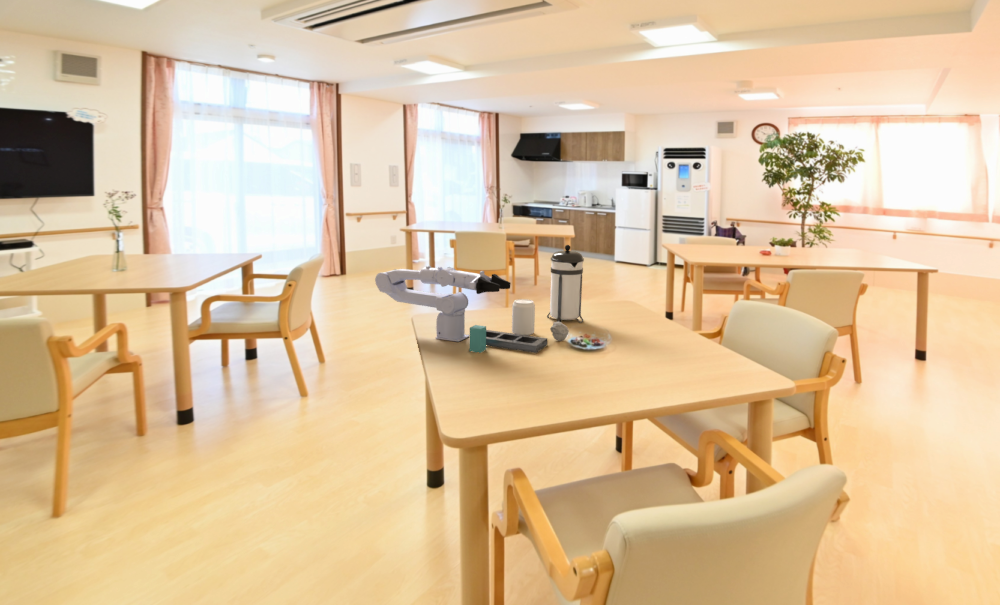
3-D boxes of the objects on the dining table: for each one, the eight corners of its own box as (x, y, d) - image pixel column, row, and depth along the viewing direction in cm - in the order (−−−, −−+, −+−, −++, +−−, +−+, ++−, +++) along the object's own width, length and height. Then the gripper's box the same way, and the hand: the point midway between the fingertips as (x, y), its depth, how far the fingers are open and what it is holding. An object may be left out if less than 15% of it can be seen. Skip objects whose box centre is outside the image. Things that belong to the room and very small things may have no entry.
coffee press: (591, 318, 241) (594, 244, 234) (573, 327, 228) (577, 248, 221) (552, 312, 250) (555, 240, 243) (533, 320, 237) (535, 244, 230)
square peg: (469, 351, 197) (469, 327, 195) (475, 348, 200) (475, 324, 198) (480, 353, 195) (480, 329, 193) (485, 349, 198) (486, 326, 197)
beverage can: (538, 332, 220) (539, 300, 217) (527, 337, 213) (527, 304, 210) (519, 329, 224) (519, 297, 221) (507, 334, 217) (508, 301, 215)
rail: (469, 343, 205) (469, 336, 205) (483, 336, 214) (483, 329, 214) (536, 353, 195) (536, 345, 195) (547, 345, 204) (547, 338, 204)
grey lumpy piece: (545, 340, 209) (546, 321, 208) (558, 337, 214) (559, 318, 212) (559, 344, 205) (560, 325, 203) (572, 340, 210) (573, 321, 208)
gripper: (458, 271, 197) (495, 277, 191) (480, 267, 209) (515, 272, 203) (457, 292, 198) (493, 299, 192) (479, 287, 211) (513, 293, 205)
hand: (504, 287), depth 198 cm, fingers open, 7 cm apart
